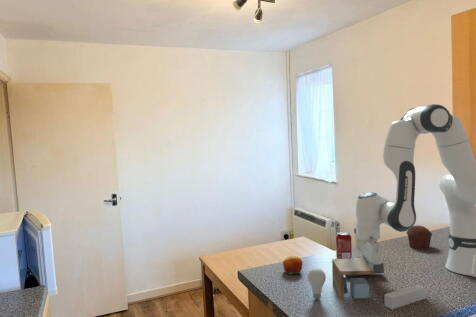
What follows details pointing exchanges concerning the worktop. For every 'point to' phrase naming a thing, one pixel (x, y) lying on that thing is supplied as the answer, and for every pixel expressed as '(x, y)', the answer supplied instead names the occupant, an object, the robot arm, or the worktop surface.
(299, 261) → the fruit
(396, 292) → the grey stick
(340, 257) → the soda can
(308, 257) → the worktop surface
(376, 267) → the hook tool
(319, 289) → the lightbulb
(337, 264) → the shelf
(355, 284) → the block
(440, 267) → the worktop surface
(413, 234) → the muffin
